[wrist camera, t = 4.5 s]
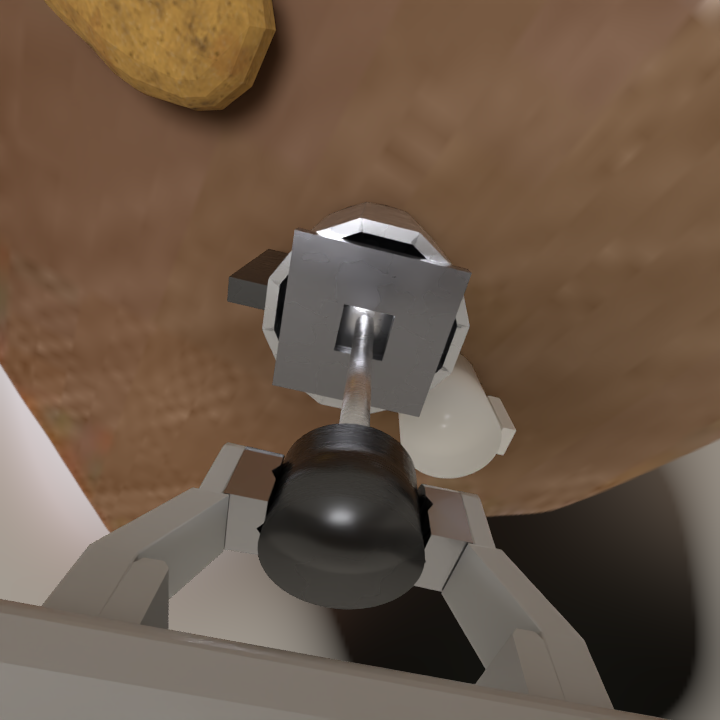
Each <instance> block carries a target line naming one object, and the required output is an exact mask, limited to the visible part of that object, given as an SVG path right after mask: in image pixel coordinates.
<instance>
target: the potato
mask: <svg viewBox="0 0 720 720" xmlns="http://www.w3.org/2000/svg"><path fill="white" fill-rule="evenodd" d="M44 1H45V2H46V4H47V5H48V6H49V7H50V8H51V9H52V10H53V11H54V12H55V13H56V14H57V15H58V16H59V18H60V19H61V20H63V21H64V22H65V23H66V24H67V25H68V26H69V27H70V28H71V29H72V30H73V31H74V32H76V33H77V34H78V35H79V36H80V37H81V38H82V39H83V40H84V41H85V42H86V43H87V44H89V45H90V47H91V48H92V49H93V50H94V51H95V52H96V53H97V54H98V55H99V57H100V58H101V59H102V60H103V61H104V62H105V63H106V64H107V66H108V67H109V68H110V69H111V70H112V71H113V72H114V73H115V74H116V75H117V76H119V77H120V78H122V79H123V80H124V81H126V82H127V83H128V84H130V85H131V86H132V87H134V88H135V89H137V90H138V91H140V92H142V93H144V94H146V95H148V96H151V97H155V98H158V99H161V100H164V101H167V102H171V103H174V104H177V105H180V106H184V107H187V108H190V109H193V110H197V111H203V110H223V109H224V108H225V107H227V106H228V105H229V104H230V103H232V102H233V101H234V100H235V99H237V98H238V97H239V96H241V95H242V94H243V93H244V92H246V91H247V90H248V89H250V88H251V87H252V85H253V83H254V81H255V78H256V76H257V74H258V71H259V69H260V66H261V64H262V62H263V59H264V57H265V55H266V52H267V50H268V47H269V45H270V43H271V40H272V38H273V36H274V33H275V31H276V28H275V20H274V13H273V6H272V0H44Z"/></svg>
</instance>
